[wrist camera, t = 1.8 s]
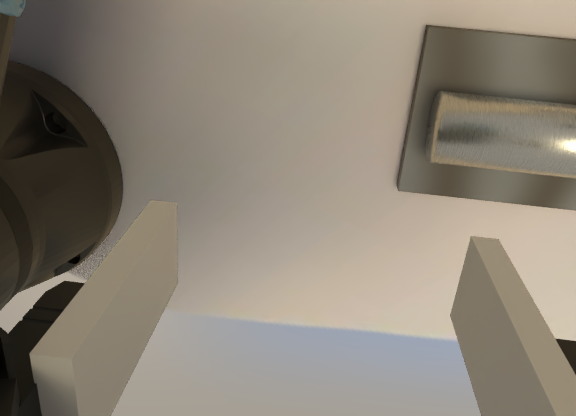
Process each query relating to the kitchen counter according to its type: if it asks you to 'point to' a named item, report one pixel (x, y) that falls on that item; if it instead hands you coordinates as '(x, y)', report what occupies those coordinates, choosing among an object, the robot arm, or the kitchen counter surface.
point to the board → (488, 82)
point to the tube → (502, 134)
